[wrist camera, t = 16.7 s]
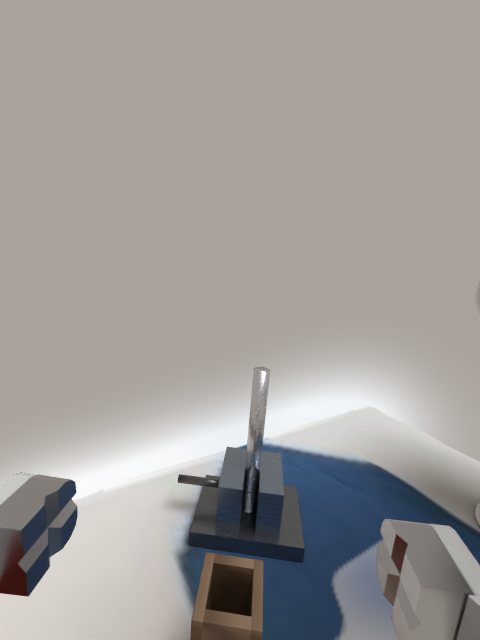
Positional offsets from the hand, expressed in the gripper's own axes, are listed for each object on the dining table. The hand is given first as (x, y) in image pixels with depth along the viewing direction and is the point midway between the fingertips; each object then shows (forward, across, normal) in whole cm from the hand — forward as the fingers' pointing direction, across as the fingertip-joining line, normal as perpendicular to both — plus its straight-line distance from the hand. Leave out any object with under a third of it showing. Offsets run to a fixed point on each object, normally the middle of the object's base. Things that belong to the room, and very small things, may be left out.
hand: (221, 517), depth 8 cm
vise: (+28, +1, +29) cm, 40 cm away
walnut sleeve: (+12, 0, +28) cm, 31 cm away
